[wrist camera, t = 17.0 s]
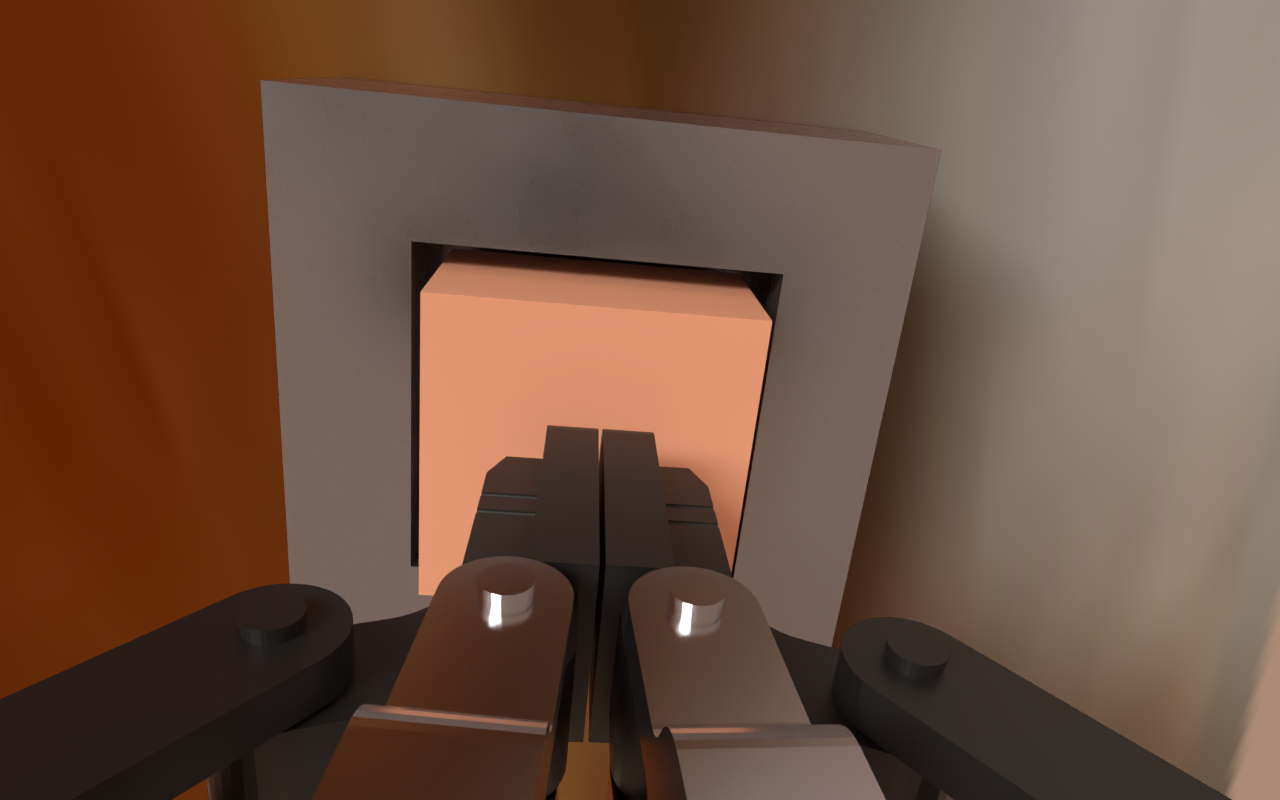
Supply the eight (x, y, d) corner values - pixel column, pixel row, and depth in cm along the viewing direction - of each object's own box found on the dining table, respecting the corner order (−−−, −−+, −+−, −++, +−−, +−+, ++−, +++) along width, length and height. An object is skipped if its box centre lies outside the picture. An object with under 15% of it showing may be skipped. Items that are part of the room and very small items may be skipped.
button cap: (447, 504, 16) (418, 594, 14) (453, 248, 15) (420, 292, 12) (702, 520, 17) (725, 611, 14) (738, 273, 15) (772, 321, 12)
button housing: (351, 543, 19) (294, 657, 16) (339, 76, 16) (260, 80, 12) (780, 568, 20) (823, 681, 16) (862, 131, 16) (941, 150, 13)
